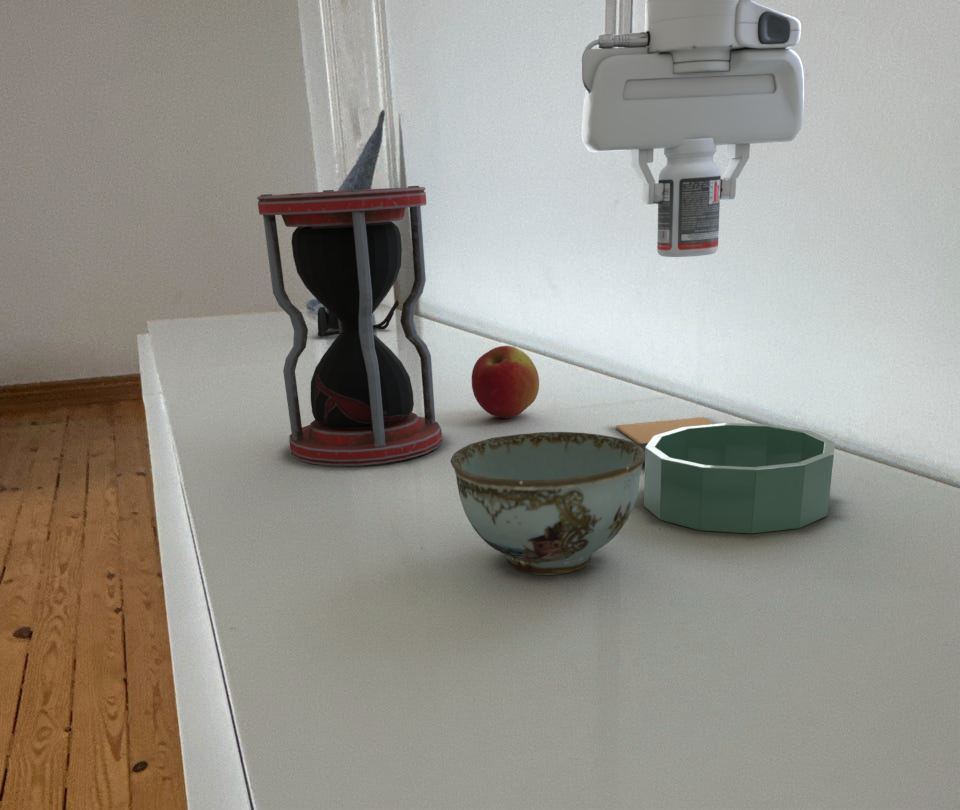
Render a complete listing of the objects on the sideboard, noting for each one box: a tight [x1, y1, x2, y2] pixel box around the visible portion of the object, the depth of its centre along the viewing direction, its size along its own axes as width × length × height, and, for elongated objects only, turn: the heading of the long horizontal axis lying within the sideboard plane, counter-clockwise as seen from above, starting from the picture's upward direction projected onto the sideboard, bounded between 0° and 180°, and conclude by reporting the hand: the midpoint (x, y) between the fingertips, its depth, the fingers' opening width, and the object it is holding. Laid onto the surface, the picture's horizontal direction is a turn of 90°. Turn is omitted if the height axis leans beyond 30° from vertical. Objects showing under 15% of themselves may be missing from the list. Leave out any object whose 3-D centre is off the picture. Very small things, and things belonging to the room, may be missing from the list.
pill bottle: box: [656, 138, 722, 258], centre depth 94 cm, size 6×6×10 cm
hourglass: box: [256, 185, 443, 467], centre depth 101 cm, size 16×16×25 cm
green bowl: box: [643, 422, 836, 535], centre depth 82 cm, size 15×15×5 cm
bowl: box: [450, 431, 646, 576], centre depth 71 cm, size 14×13×8 cm
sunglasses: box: [317, 299, 400, 337], centre depth 186 cm, size 17×14×5 cm
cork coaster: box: [615, 417, 715, 444], centre depth 105 cm, size 10×10×1 cm
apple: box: [471, 345, 540, 419], centre depth 114 cm, size 8×8×8 cm
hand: (689, 201), depth 94 cm, fingers closed on pill bottle, 6 cm apart
